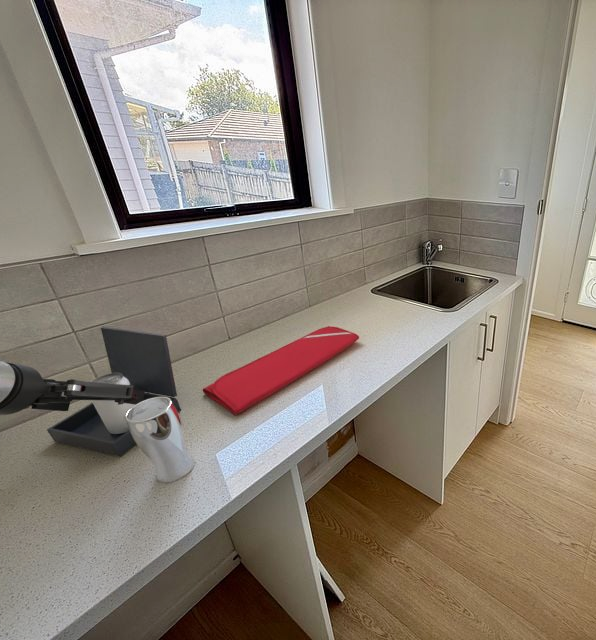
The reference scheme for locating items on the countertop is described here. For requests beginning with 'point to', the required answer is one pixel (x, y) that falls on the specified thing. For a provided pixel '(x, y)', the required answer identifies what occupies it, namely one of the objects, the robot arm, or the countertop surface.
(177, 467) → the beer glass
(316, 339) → the dish drying mat
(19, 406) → the robot arm
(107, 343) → the lid
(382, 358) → the countertop surface
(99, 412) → the can
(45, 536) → the countertop surface
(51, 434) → the tray
